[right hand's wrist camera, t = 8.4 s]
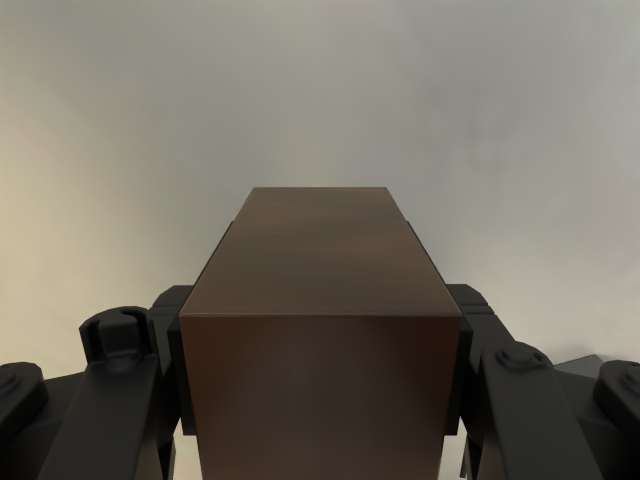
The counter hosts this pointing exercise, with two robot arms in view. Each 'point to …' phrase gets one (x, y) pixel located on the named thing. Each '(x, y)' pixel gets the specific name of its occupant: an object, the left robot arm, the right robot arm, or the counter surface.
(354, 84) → the counter surface
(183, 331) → the walnut plank
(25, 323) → the counter surface
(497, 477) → the right robot arm
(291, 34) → the counter surface
